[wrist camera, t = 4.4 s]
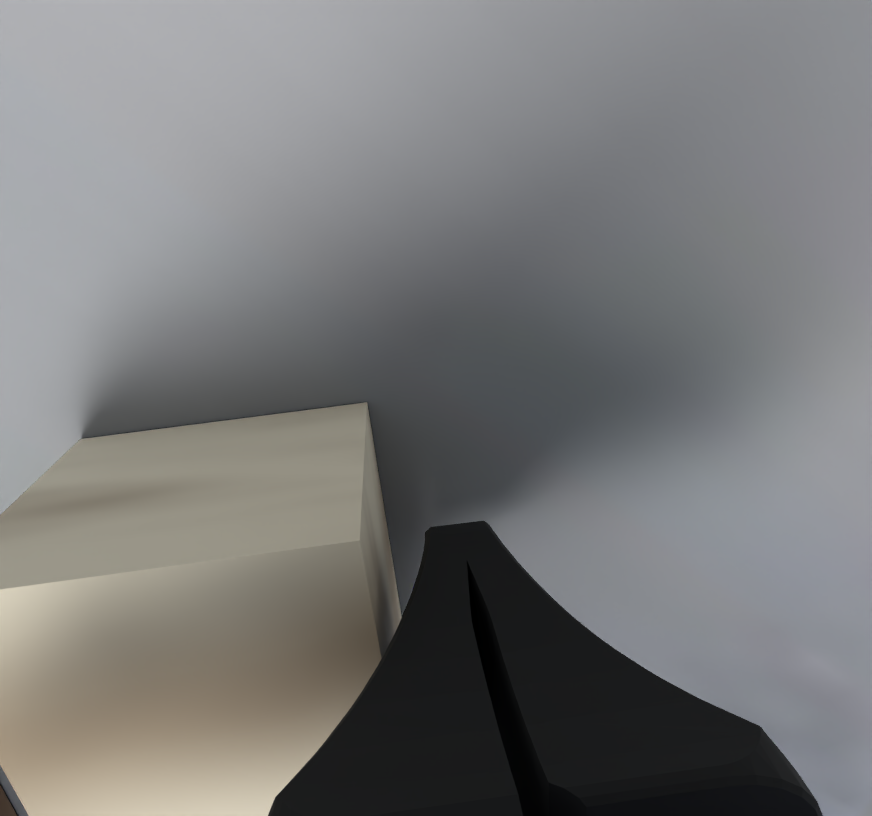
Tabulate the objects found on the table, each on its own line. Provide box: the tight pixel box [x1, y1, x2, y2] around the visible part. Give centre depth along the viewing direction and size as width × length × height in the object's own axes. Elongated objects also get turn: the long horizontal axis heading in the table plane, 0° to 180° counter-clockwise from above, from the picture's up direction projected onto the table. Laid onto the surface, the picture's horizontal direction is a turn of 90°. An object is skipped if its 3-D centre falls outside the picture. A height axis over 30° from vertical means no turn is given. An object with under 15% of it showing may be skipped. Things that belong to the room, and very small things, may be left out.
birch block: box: [0, 402, 402, 816], centre depth 12 cm, size 6×6×5 cm
